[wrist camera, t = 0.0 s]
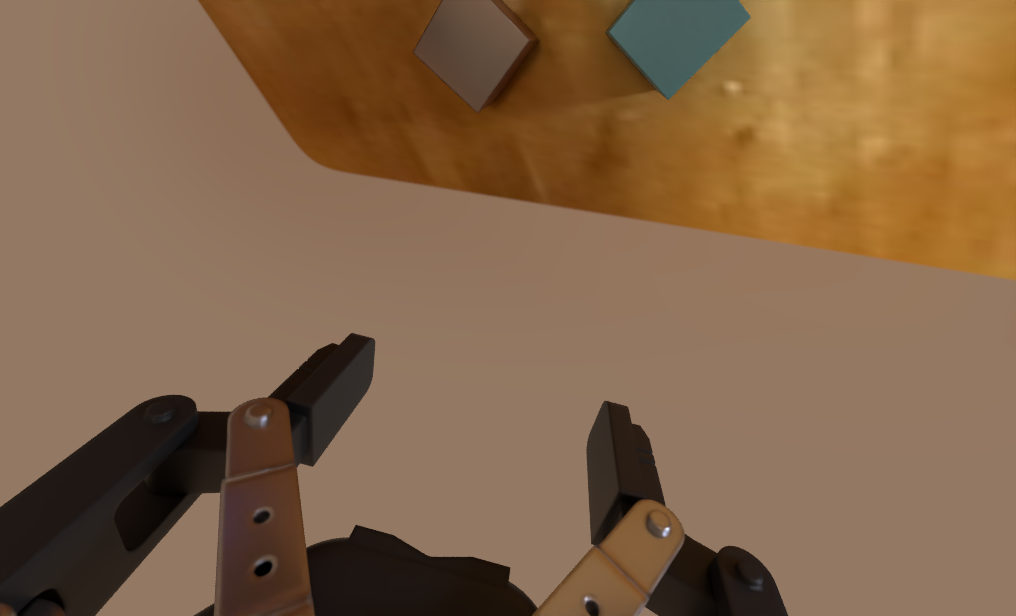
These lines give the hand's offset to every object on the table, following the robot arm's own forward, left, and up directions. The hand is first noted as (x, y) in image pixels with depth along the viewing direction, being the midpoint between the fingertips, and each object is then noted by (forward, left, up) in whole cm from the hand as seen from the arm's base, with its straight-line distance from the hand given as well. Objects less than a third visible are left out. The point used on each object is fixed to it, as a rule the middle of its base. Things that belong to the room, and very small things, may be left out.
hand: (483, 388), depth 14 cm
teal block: (-12, -1, -22) cm, 26 cm away
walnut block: (-4, -9, -22) cm, 25 cm away
